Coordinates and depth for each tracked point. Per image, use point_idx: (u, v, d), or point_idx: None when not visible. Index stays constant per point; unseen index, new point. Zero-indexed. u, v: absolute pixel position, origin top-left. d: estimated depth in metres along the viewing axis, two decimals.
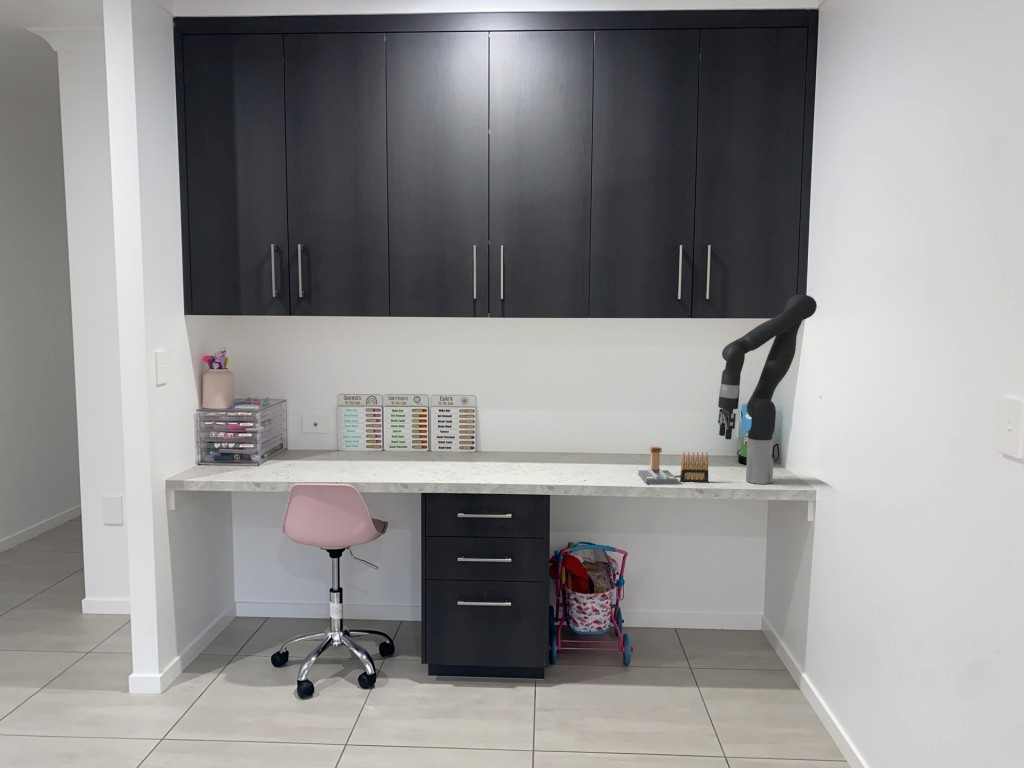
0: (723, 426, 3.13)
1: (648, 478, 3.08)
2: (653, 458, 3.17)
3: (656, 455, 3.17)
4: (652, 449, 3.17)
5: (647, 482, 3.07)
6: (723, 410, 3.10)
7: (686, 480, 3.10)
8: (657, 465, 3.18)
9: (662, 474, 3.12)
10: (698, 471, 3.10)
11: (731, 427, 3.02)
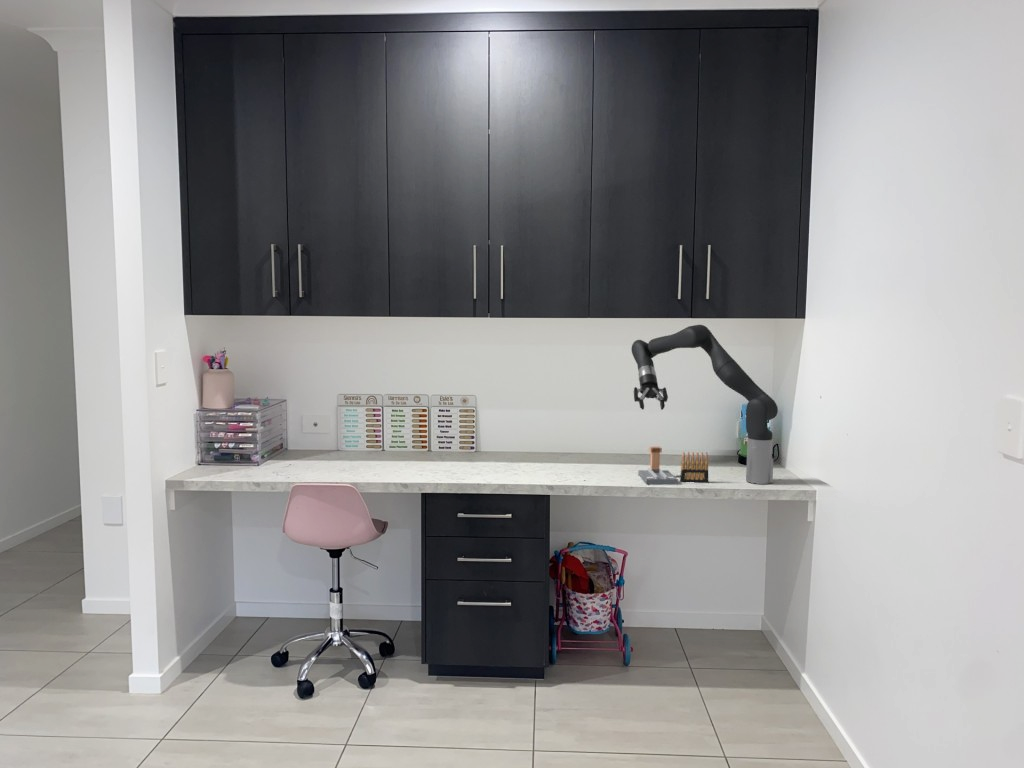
0: (660, 401, 3.39)
1: (648, 478, 3.08)
2: (653, 458, 3.17)
3: (656, 455, 3.17)
4: (652, 449, 3.17)
5: (647, 482, 3.07)
6: None
7: (686, 480, 3.10)
8: (657, 465, 3.18)
9: (662, 474, 3.12)
10: (698, 471, 3.10)
11: (635, 398, 3.39)
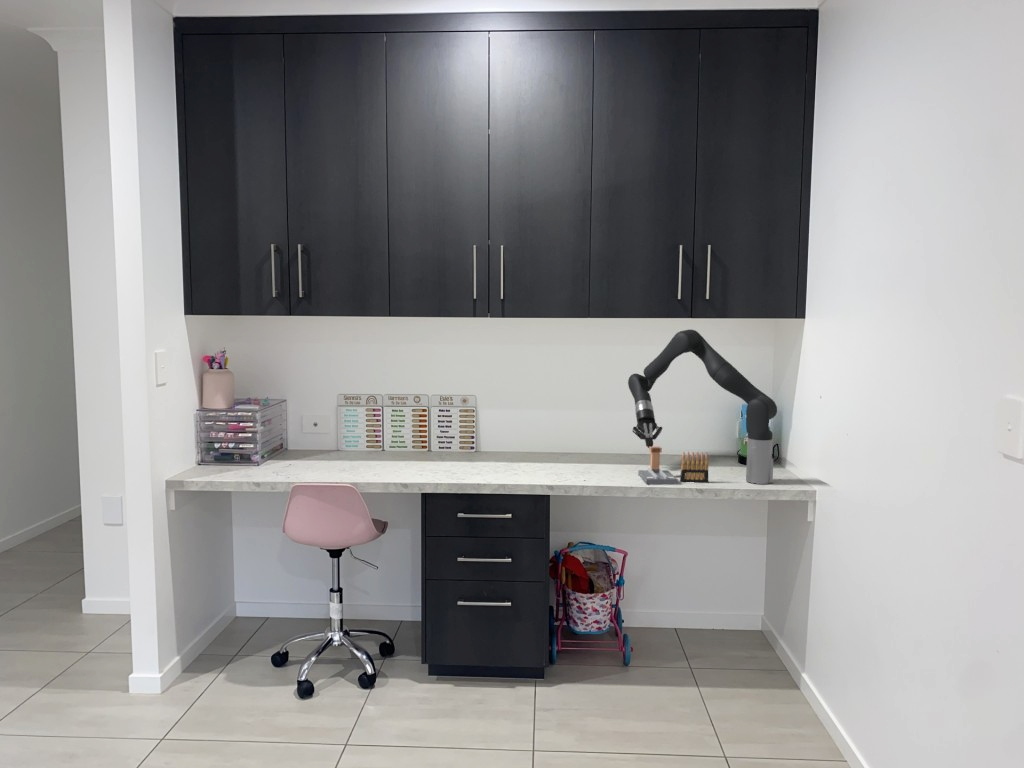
0: None
1: (648, 478, 3.08)
2: (653, 458, 3.17)
3: (656, 455, 3.17)
4: (652, 449, 3.17)
5: (647, 482, 3.07)
6: None
7: (686, 480, 3.10)
8: (657, 465, 3.18)
9: (662, 474, 3.12)
10: (698, 471, 3.10)
11: (641, 436, 3.32)
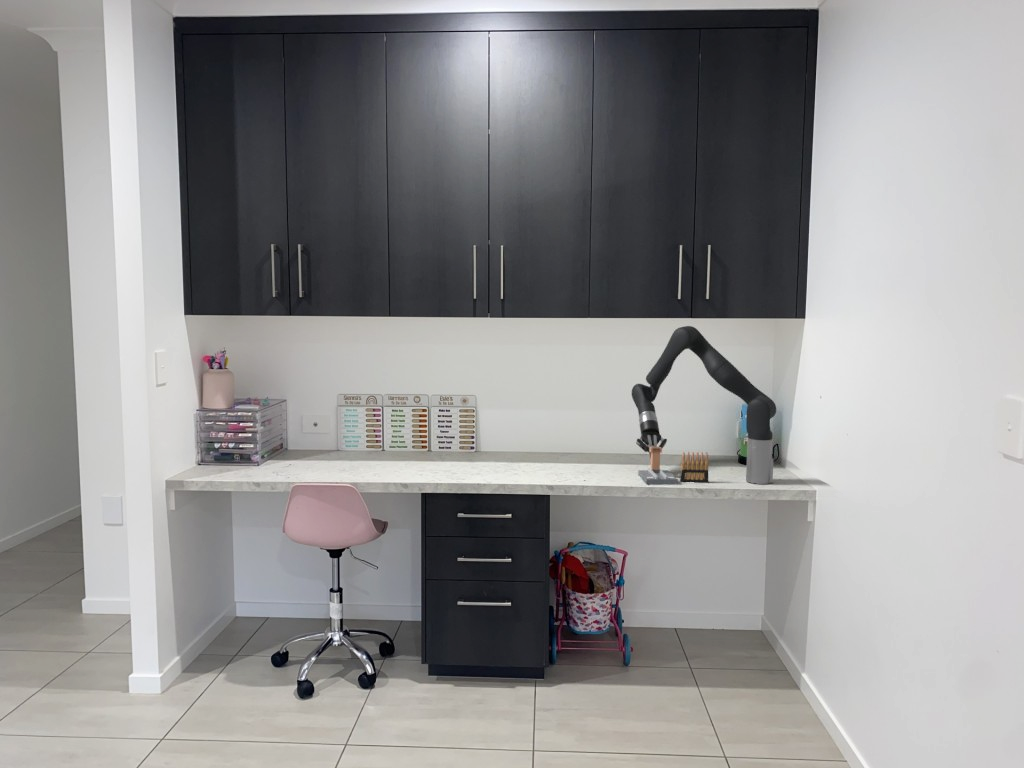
0: None
1: (648, 478, 3.08)
2: (653, 458, 3.17)
3: (657, 455, 3.17)
4: (652, 449, 3.16)
5: (647, 482, 3.07)
6: None
7: (686, 480, 3.10)
8: (657, 465, 3.17)
9: (662, 474, 3.12)
10: (698, 471, 3.10)
11: (645, 449, 3.24)
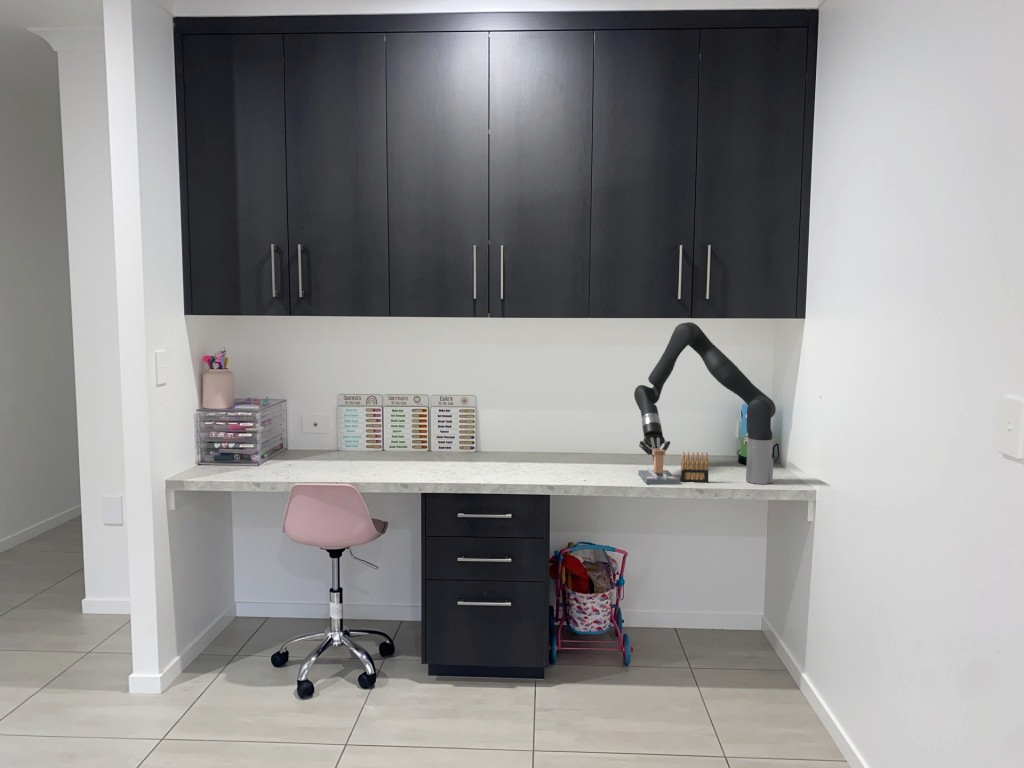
0: None
1: (648, 478, 3.08)
2: (656, 461, 3.11)
3: (660, 458, 3.11)
4: (655, 452, 3.11)
5: (647, 482, 3.07)
6: None
7: (686, 480, 3.10)
8: (661, 468, 3.12)
9: (662, 474, 3.12)
10: (698, 471, 3.10)
11: (648, 451, 3.18)
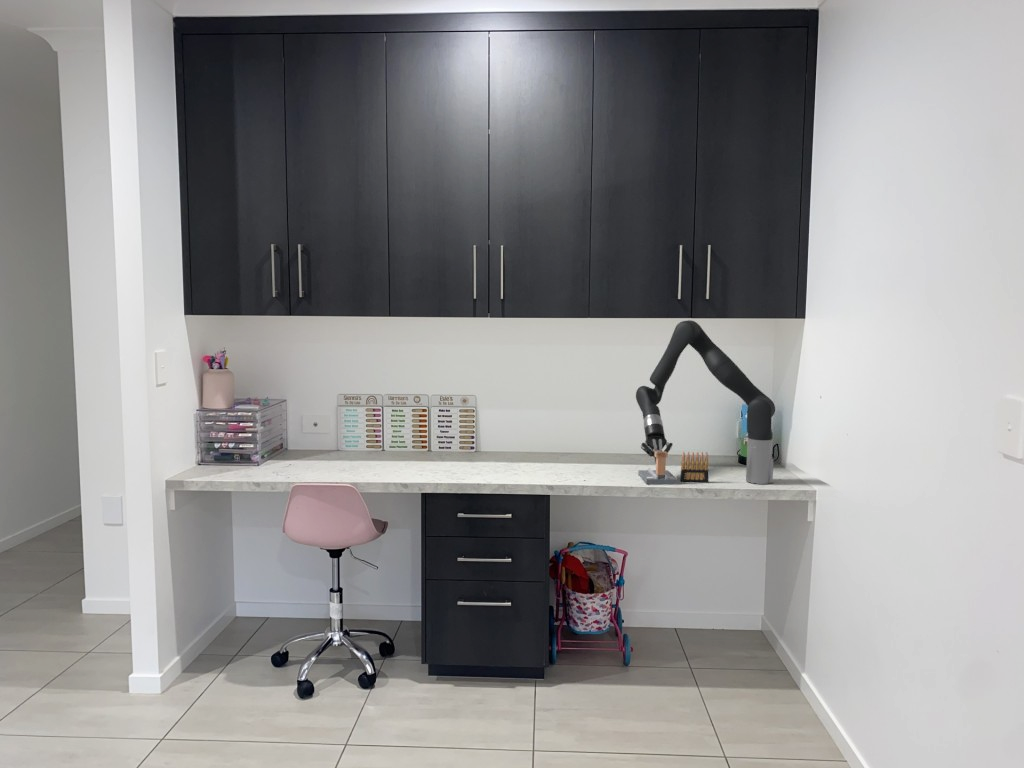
0: None
1: (648, 478, 3.08)
2: (659, 463, 3.07)
3: (662, 460, 3.07)
4: (658, 454, 3.07)
5: (647, 482, 3.07)
6: None
7: (686, 480, 3.10)
8: (663, 470, 3.08)
9: None
10: (698, 471, 3.10)
11: (650, 453, 3.14)
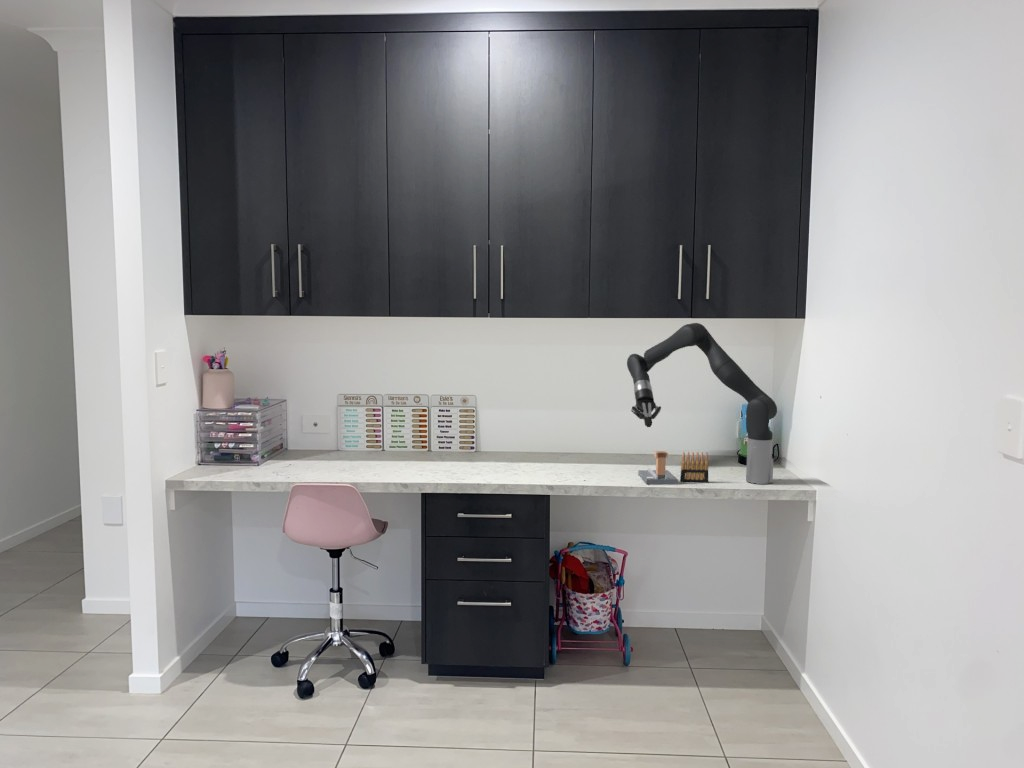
0: None
1: (648, 478, 3.08)
2: (659, 463, 3.07)
3: (662, 460, 3.07)
4: (658, 454, 3.07)
5: (647, 482, 3.07)
6: None
7: (686, 480, 3.10)
8: (663, 470, 3.08)
9: None
10: (698, 471, 3.10)
11: (640, 416, 3.33)
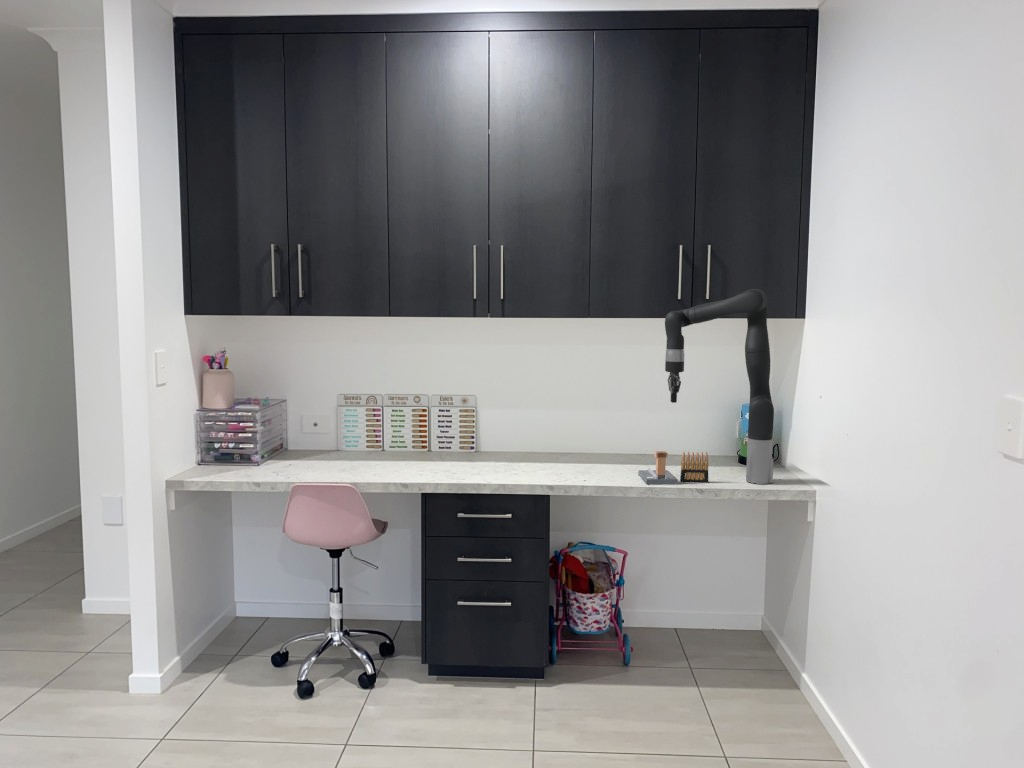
0: None
1: (648, 478, 3.08)
2: (659, 463, 3.07)
3: (662, 460, 3.07)
4: (658, 454, 3.07)
5: (647, 482, 3.07)
6: (670, 374, 3.26)
7: (686, 480, 3.10)
8: (663, 470, 3.08)
9: None
10: (698, 471, 3.10)
11: (675, 391, 3.22)
